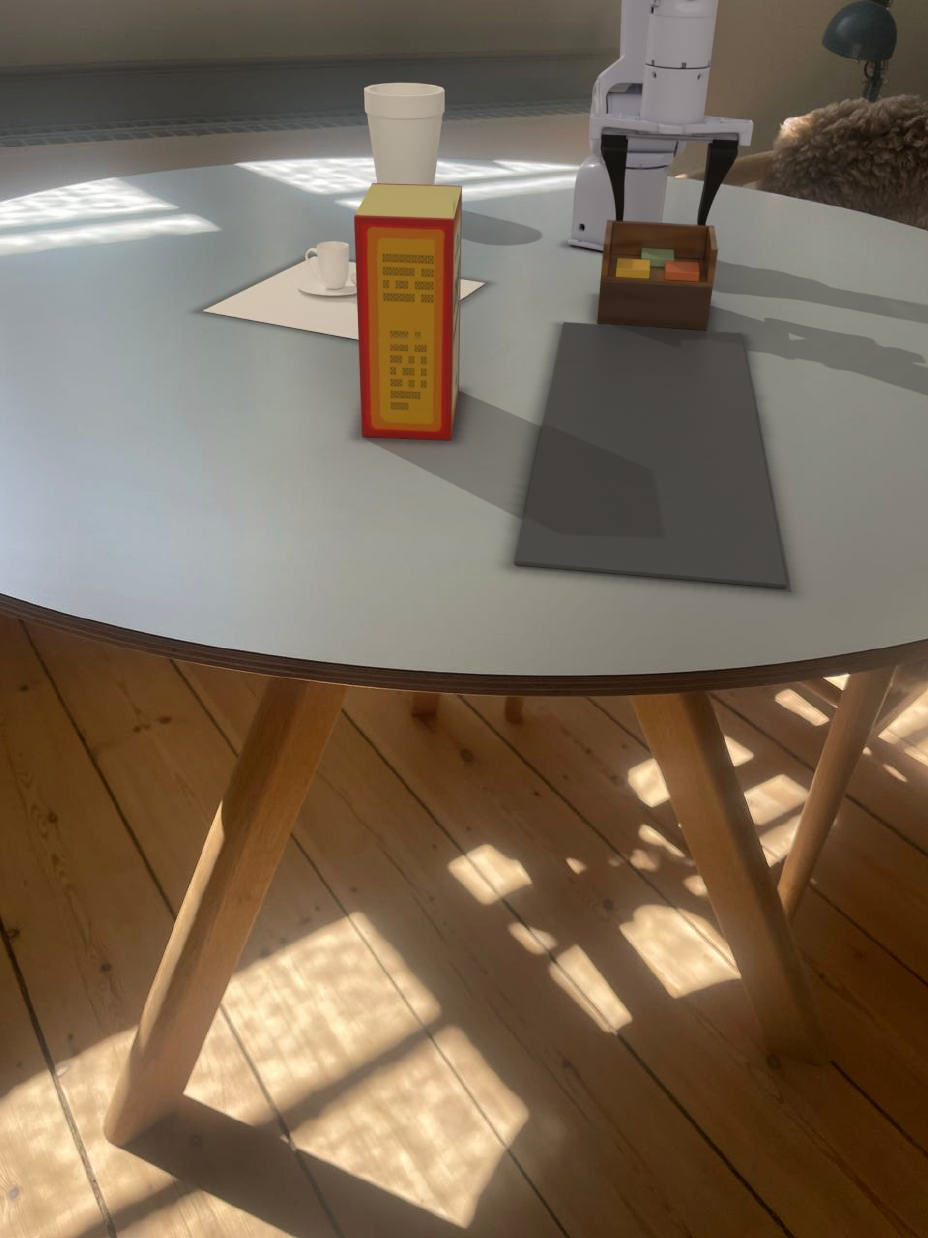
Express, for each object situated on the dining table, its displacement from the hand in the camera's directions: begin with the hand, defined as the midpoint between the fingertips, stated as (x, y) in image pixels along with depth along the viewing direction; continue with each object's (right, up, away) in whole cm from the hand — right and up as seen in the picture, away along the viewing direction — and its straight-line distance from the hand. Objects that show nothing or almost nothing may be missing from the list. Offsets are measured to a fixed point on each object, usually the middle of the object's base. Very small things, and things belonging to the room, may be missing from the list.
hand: (660, 222), depth 106 cm
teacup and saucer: (-30, -7, +2) cm, 31 cm away
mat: (-5, -23, -22) cm, 33 cm away
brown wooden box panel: (-1, -9, -1) cm, 9 cm away
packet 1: (-3, -6, -5) cm, 8 cm away
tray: (-1, -5, -2) cm, 5 cm away
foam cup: (-26, +13, +32) cm, 43 cm away
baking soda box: (-23, -22, -21) cm, 38 cm away
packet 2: (+1, -7, -5) cm, 8 cm away
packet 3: (-1, -4, -2) cm, 5 cm away
